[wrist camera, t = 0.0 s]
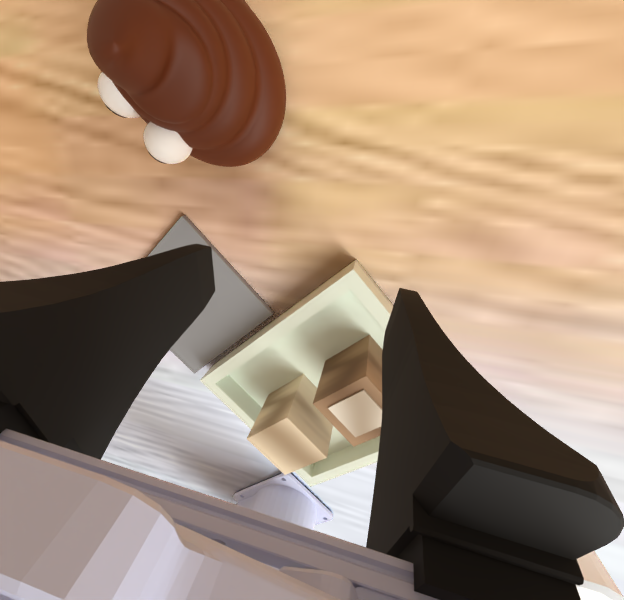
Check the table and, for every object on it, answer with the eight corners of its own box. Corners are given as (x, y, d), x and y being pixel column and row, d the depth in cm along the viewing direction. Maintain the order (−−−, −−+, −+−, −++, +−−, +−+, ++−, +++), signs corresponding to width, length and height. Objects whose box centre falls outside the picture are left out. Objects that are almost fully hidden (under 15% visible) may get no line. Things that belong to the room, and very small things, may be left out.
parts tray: (315, 466, 31) (310, 486, 29) (212, 365, 28) (200, 380, 27) (472, 402, 24) (479, 424, 22) (356, 259, 21) (353, 269, 19)
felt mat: (196, 370, 29) (194, 373, 29) (117, 294, 27) (113, 295, 27) (274, 312, 25) (272, 314, 24) (185, 215, 23) (181, 215, 22)
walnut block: (358, 397, 26) (353, 447, 21) (325, 360, 25) (312, 405, 20) (404, 375, 24) (408, 425, 19) (369, 334, 23) (366, 376, 19)
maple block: (300, 426, 29) (285, 475, 24) (268, 394, 28) (246, 438, 24) (336, 408, 27) (327, 457, 23) (303, 373, 26) (287, 417, 22)
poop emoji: (320, 98, 18) (265, 46, 10) (231, 196, 22) (135, 220, 13) (198, -65, 16) (-1, -304, 8) (123, 73, 20) (-68, 10, 11)
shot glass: (496, 532, 30) (525, 630, 24) (478, 485, 28) (505, 579, 22) (579, 529, 27) (637, 638, 21) (566, 477, 25) (626, 581, 19)
